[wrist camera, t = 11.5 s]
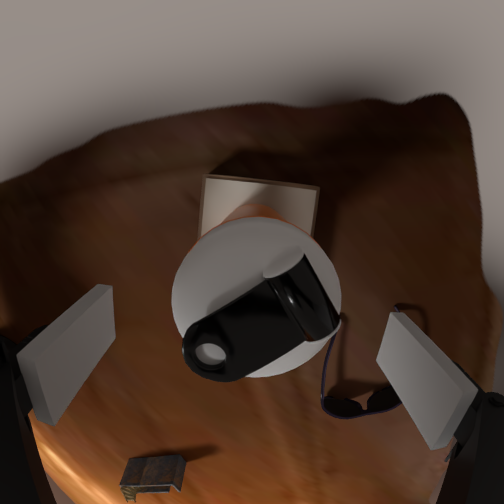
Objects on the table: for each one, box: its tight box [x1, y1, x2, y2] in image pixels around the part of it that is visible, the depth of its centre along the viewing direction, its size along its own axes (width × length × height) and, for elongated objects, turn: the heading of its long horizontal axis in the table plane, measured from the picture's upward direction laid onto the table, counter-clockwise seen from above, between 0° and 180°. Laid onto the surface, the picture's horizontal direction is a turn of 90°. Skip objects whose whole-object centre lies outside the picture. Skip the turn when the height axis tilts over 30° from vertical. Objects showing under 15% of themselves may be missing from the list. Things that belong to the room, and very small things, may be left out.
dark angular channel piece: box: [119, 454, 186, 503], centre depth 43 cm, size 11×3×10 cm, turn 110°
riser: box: [197, 174, 320, 241], centre depth 35 cm, size 12×12×4 cm
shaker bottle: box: [172, 204, 341, 382], centre depth 23 cm, size 9×9×20 cm
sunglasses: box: [321, 305, 402, 419], centre depth 39 cm, size 14×16×5 cm
